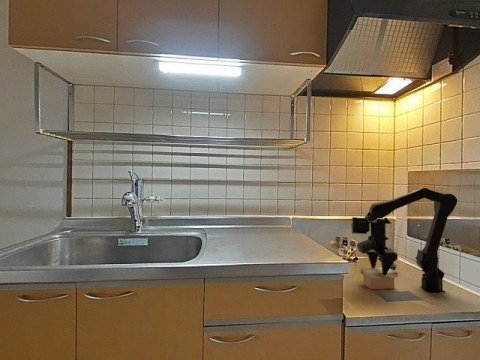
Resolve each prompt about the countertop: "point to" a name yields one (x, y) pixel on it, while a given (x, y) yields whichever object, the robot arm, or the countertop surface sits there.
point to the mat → (398, 296)
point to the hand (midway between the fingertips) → (378, 271)
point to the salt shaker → (393, 263)
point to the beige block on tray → (377, 273)
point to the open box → (379, 283)
